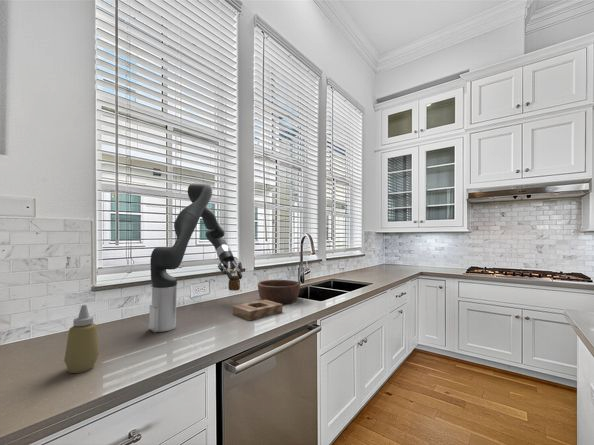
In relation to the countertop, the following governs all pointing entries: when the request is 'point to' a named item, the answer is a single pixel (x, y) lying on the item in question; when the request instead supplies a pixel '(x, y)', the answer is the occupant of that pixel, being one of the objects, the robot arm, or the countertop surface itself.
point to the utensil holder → (234, 282)
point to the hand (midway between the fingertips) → (236, 278)
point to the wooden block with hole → (257, 309)
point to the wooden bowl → (279, 290)
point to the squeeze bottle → (82, 343)
